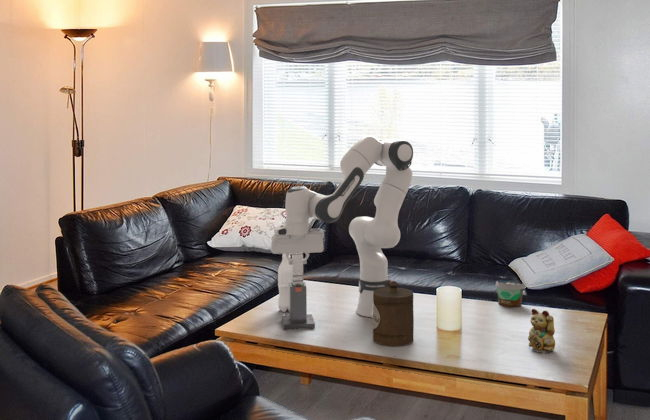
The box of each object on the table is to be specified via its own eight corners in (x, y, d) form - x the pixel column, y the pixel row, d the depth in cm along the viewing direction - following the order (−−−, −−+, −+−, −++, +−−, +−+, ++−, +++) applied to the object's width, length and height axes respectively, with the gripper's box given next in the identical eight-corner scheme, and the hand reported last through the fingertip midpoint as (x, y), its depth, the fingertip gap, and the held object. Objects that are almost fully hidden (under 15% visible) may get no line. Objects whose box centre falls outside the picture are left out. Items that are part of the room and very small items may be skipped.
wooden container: (377, 332, 299) (378, 275, 295) (416, 335, 295) (417, 278, 291) (368, 344, 285) (368, 285, 281) (409, 348, 281) (410, 288, 277)
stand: (311, 319, 315) (311, 278, 312) (314, 328, 303) (314, 286, 301) (281, 320, 314) (281, 279, 311) (283, 329, 302) (283, 287, 299)
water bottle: (293, 313, 323) (292, 253, 319) (276, 312, 324) (275, 253, 320) (297, 308, 330) (296, 249, 326) (280, 307, 331) (280, 249, 327)
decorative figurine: (524, 350, 279) (525, 308, 276) (533, 344, 285) (535, 303, 283) (550, 355, 273) (552, 313, 270) (559, 349, 279) (561, 308, 277)
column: (302, 302, 309) (302, 252, 306) (303, 305, 305) (303, 254, 302) (292, 302, 309) (291, 252, 306) (293, 305, 305) (292, 254, 302)
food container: (492, 306, 332) (493, 283, 330) (495, 302, 338) (495, 280, 336) (522, 309, 327) (523, 286, 326) (524, 305, 333) (525, 282, 331)
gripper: (323, 226, 307) (323, 261, 309) (270, 227, 304) (270, 262, 307) (325, 229, 301) (325, 265, 303) (271, 230, 298) (271, 266, 300)
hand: (297, 264), depth 305 cm, fingers closed on column, 4 cm apart
